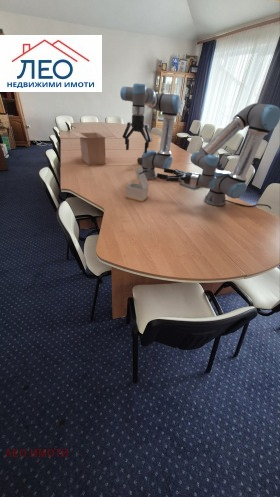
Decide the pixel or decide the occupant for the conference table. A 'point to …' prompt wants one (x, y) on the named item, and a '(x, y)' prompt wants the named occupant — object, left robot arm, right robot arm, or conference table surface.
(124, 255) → the conference table surface
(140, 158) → the laser sight
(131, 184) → the chest
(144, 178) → the lid
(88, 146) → the box
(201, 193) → the conference table surface
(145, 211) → the conference table surface
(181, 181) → the book
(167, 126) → the left robot arm
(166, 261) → the conference table surface
